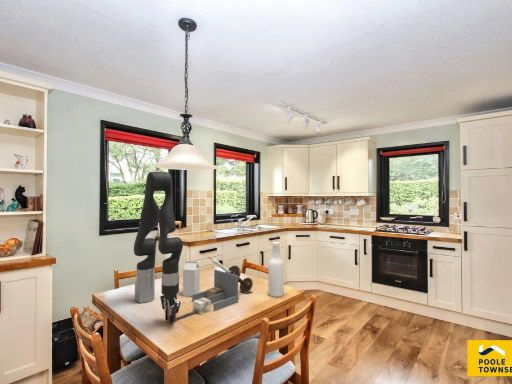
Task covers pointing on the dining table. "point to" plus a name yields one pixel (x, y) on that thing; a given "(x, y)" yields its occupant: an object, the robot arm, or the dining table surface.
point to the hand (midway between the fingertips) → (170, 320)
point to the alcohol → (276, 273)
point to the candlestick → (245, 283)
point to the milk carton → (191, 278)
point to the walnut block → (213, 291)
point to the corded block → (195, 308)
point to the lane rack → (228, 290)
